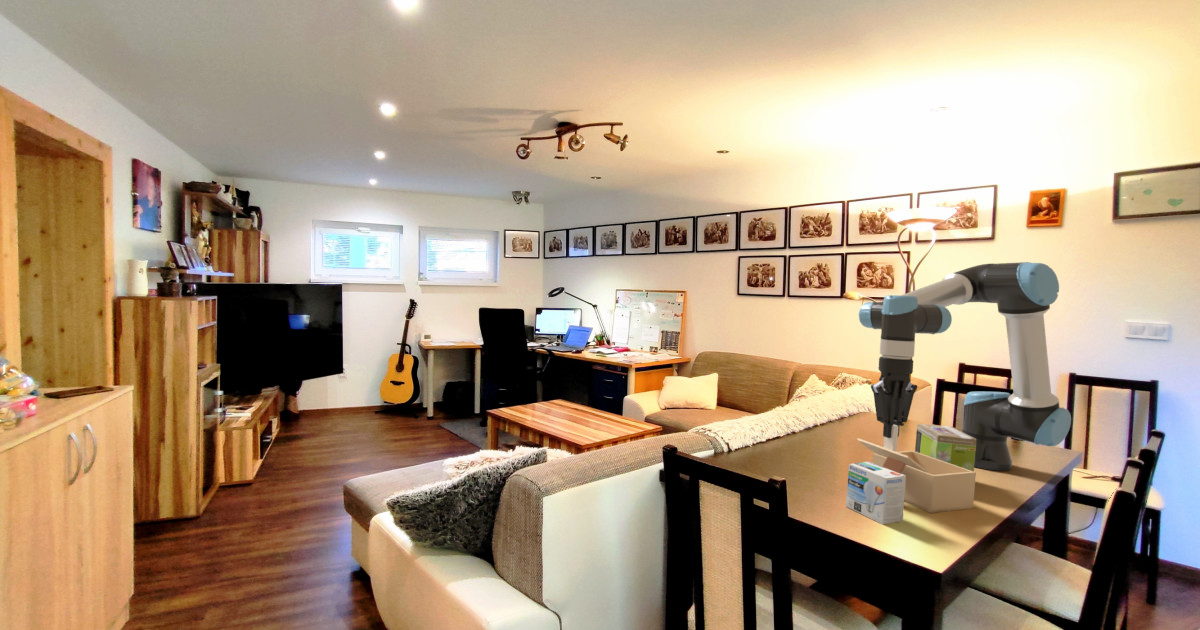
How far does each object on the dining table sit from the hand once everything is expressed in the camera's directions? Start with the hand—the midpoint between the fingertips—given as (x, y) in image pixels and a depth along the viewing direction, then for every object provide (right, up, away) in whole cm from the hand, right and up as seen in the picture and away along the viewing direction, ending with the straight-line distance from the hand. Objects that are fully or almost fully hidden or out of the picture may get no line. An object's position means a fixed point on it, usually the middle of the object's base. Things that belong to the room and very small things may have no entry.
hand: (889, 449), depth 135 cm
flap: (0, -1, 0) cm, 1 cm away
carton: (+10, -13, +4) cm, 17 cm away
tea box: (+24, -14, +17) cm, 33 cm away
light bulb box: (-8, -13, -8) cm, 18 cm away
